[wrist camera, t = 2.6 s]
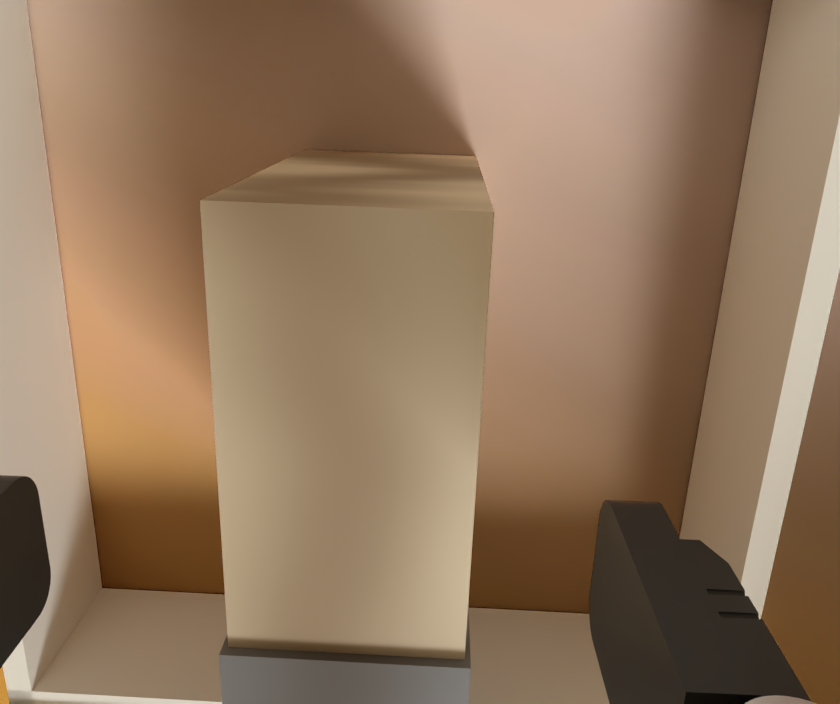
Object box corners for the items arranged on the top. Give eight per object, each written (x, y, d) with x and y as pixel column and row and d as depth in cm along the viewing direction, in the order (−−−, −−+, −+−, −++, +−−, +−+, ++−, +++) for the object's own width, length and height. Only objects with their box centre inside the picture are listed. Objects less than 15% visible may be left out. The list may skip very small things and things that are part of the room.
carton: (857, -304, 15) (1170, -598, 8) (661, 754, 24) (739, 1003, 17) (-46, -324, 15) (-410, -619, 9) (101, 722, 24) (-25, 953, 18)
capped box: (479, 156, 18) (502, 214, 10) (460, 497, 21) (465, 742, 13) (301, 149, 18) (187, 202, 10) (307, 489, 21) (223, 729, 13)
